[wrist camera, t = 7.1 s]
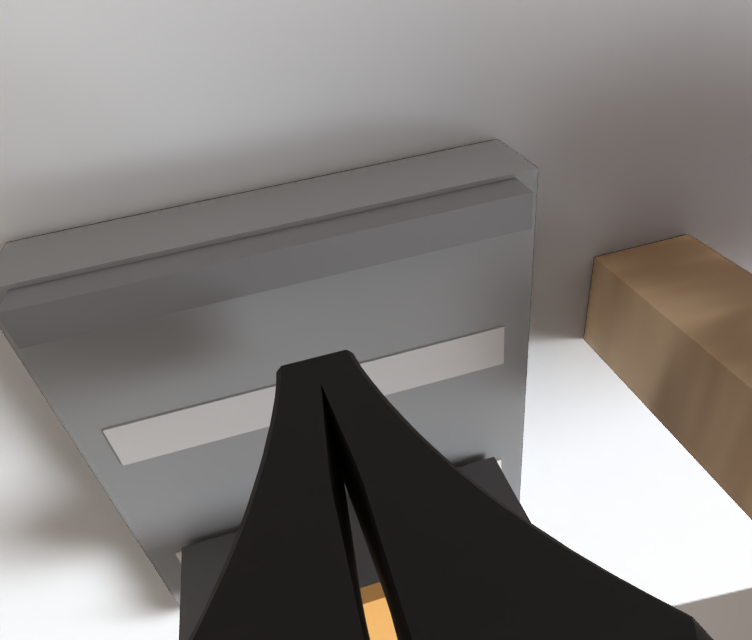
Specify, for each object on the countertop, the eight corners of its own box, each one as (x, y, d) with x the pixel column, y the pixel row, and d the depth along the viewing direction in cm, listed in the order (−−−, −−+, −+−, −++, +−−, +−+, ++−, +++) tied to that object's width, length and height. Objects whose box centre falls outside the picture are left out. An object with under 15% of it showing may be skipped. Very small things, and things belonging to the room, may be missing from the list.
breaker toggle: (494, 456, 16) (543, 546, 14) (493, 506, 18) (538, 595, 15) (181, 547, 15) (178, 662, 13) (207, 593, 17) (208, 704, 14)
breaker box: (497, 139, 13) (557, 181, 11) (493, 516, 22) (526, 582, 20) (6, 242, 12) (-39, 316, 10) (212, 602, 21) (214, 684, 18)
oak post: (688, 234, 16) (938, 391, 11) (668, 316, 18) (875, 488, 13) (594, 257, 16) (804, 432, 10) (584, 339, 18) (758, 527, 12)
